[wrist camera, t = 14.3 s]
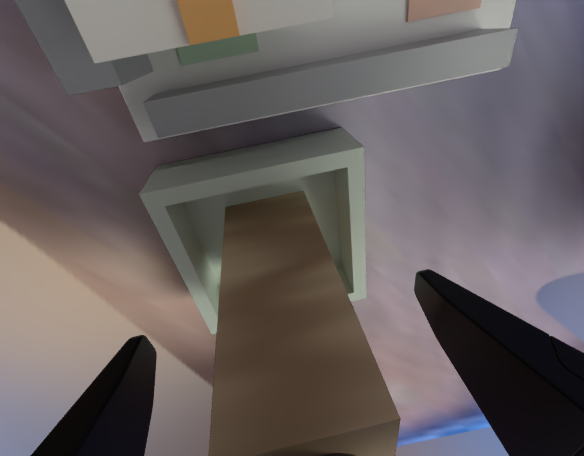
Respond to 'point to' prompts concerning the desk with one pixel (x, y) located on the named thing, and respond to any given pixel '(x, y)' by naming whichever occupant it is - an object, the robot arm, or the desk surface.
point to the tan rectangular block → (291, 345)
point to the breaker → (181, 22)
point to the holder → (255, 186)
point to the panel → (284, 61)
